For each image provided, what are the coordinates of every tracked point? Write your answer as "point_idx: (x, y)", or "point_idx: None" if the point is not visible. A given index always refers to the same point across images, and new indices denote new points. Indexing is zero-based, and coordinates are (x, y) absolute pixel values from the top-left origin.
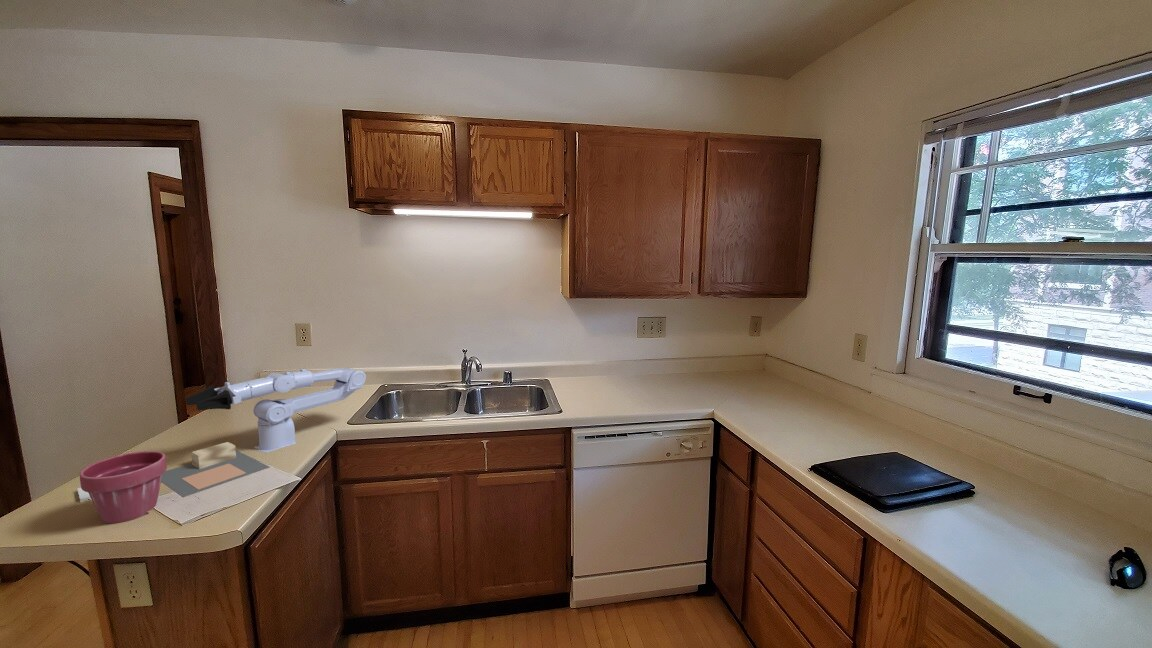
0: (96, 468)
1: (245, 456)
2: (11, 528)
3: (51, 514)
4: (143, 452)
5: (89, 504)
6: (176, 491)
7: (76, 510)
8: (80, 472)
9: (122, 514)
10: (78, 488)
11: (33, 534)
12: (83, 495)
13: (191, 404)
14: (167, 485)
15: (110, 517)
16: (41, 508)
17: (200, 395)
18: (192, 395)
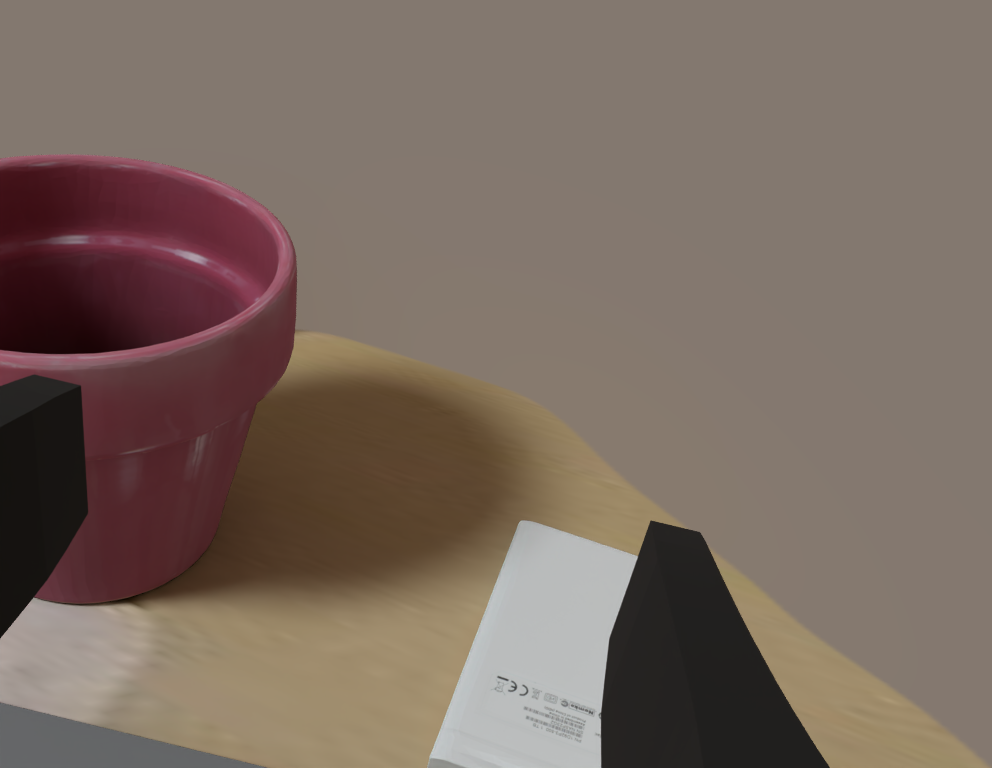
0: (268, 260)
1: None
2: (484, 384)
3: (485, 454)
4: (159, 346)
5: (439, 529)
6: (18, 713)
7: (423, 488)
8: (214, 179)
9: None
10: None
11: (341, 372)
12: (547, 537)
13: (606, 701)
14: (198, 753)
15: None
16: (601, 474)
17: (663, 765)
18: (701, 598)
